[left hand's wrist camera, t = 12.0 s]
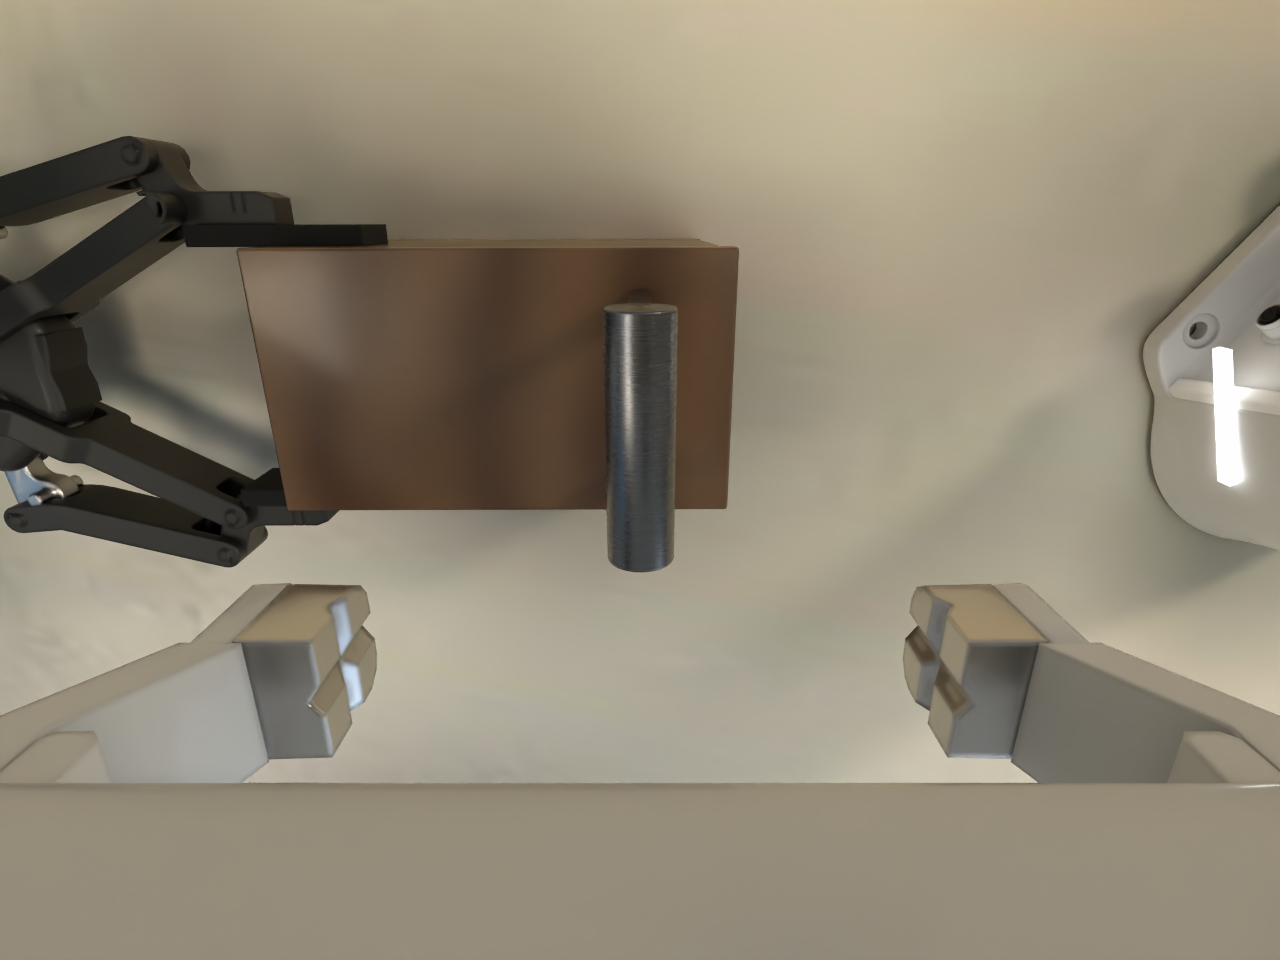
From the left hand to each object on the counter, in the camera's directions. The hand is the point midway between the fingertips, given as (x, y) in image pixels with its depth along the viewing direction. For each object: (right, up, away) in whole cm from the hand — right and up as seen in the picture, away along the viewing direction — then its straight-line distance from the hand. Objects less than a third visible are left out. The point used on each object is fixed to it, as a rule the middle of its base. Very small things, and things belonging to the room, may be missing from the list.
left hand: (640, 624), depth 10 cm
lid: (-5, +6, +16) cm, 18 cm away
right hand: (-10, +7, +18) cm, 22 cm away
